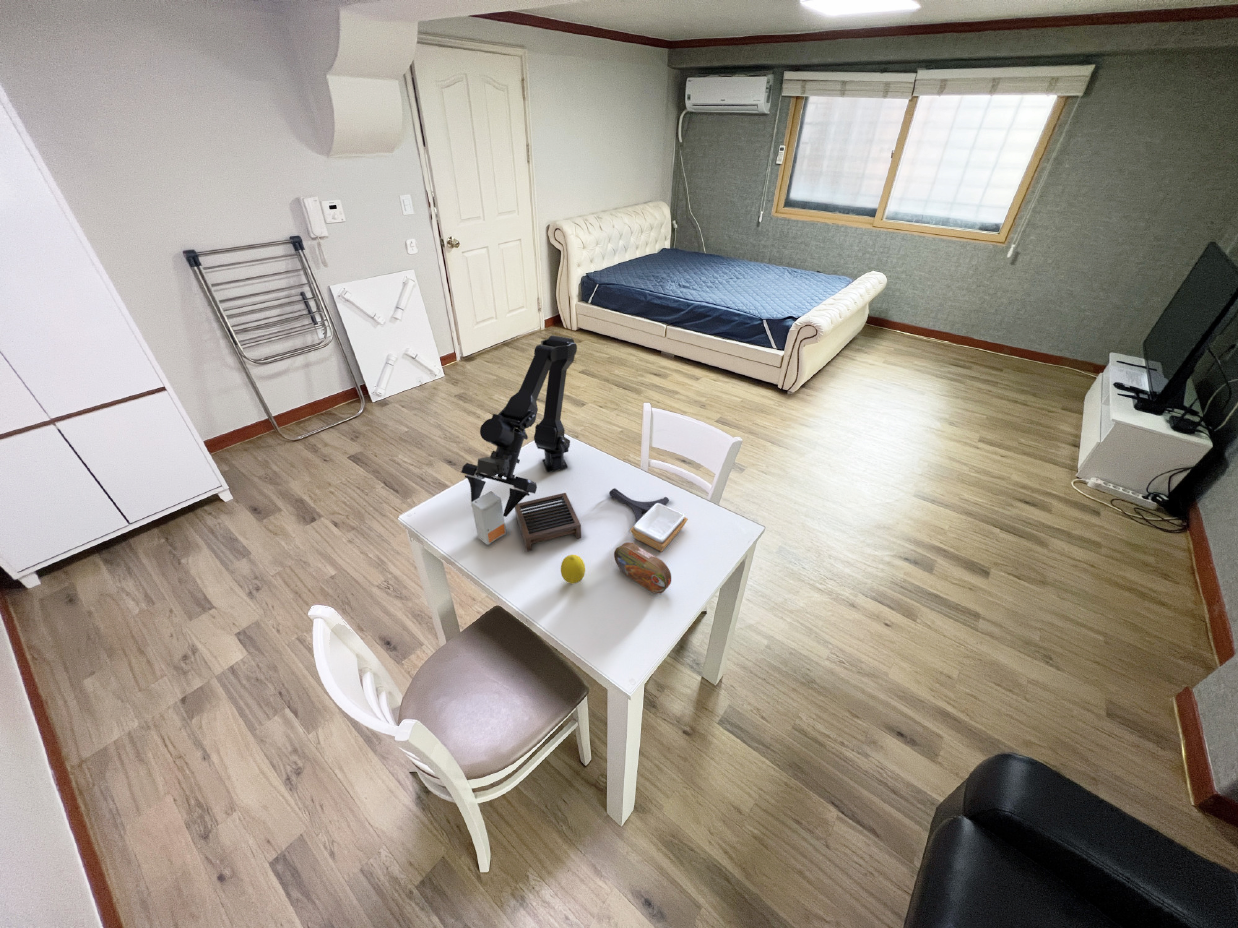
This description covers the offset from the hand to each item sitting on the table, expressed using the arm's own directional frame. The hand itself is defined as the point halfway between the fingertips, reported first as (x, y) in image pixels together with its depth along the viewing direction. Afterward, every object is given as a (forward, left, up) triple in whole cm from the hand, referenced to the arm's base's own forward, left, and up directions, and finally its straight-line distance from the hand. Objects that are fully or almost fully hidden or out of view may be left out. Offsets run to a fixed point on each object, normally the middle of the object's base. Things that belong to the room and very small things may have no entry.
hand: (488, 511), depth 120 cm
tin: (+27, +30, -8) cm, 41 cm away
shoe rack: (+2, +14, -8) cm, 16 cm away
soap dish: (+15, +40, -8) cm, 43 cm away
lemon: (+22, +15, -8) cm, 27 cm away
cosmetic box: (0, 0, -8) cm, 8 cm away
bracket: (+2, +38, -8) cm, 39 cm away
